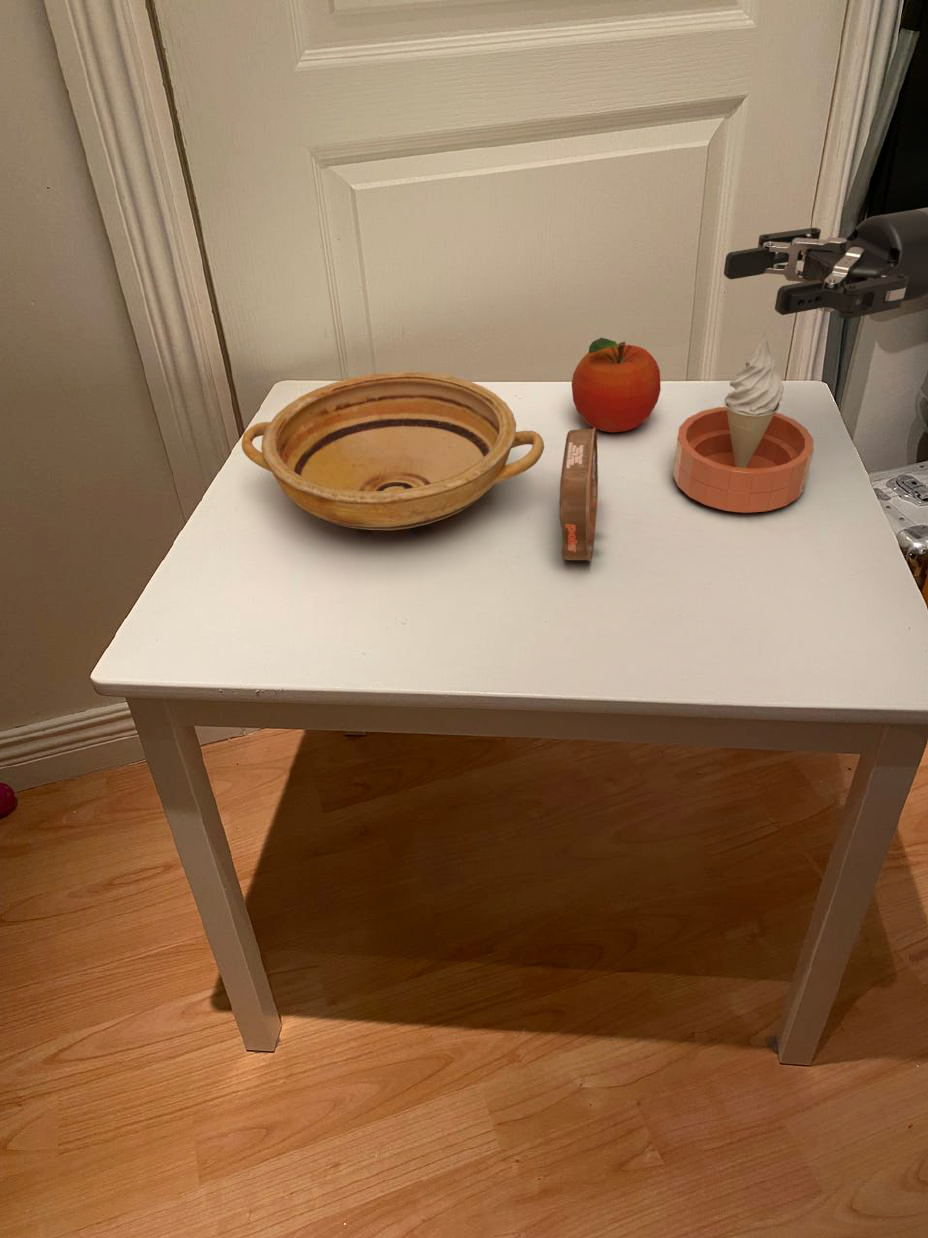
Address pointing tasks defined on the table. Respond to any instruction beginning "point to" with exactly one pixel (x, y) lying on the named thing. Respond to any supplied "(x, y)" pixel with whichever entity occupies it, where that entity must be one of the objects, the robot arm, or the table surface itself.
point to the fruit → (615, 386)
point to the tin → (579, 494)
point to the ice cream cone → (753, 402)
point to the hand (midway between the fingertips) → (751, 283)
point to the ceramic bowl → (391, 449)
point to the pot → (722, 485)
